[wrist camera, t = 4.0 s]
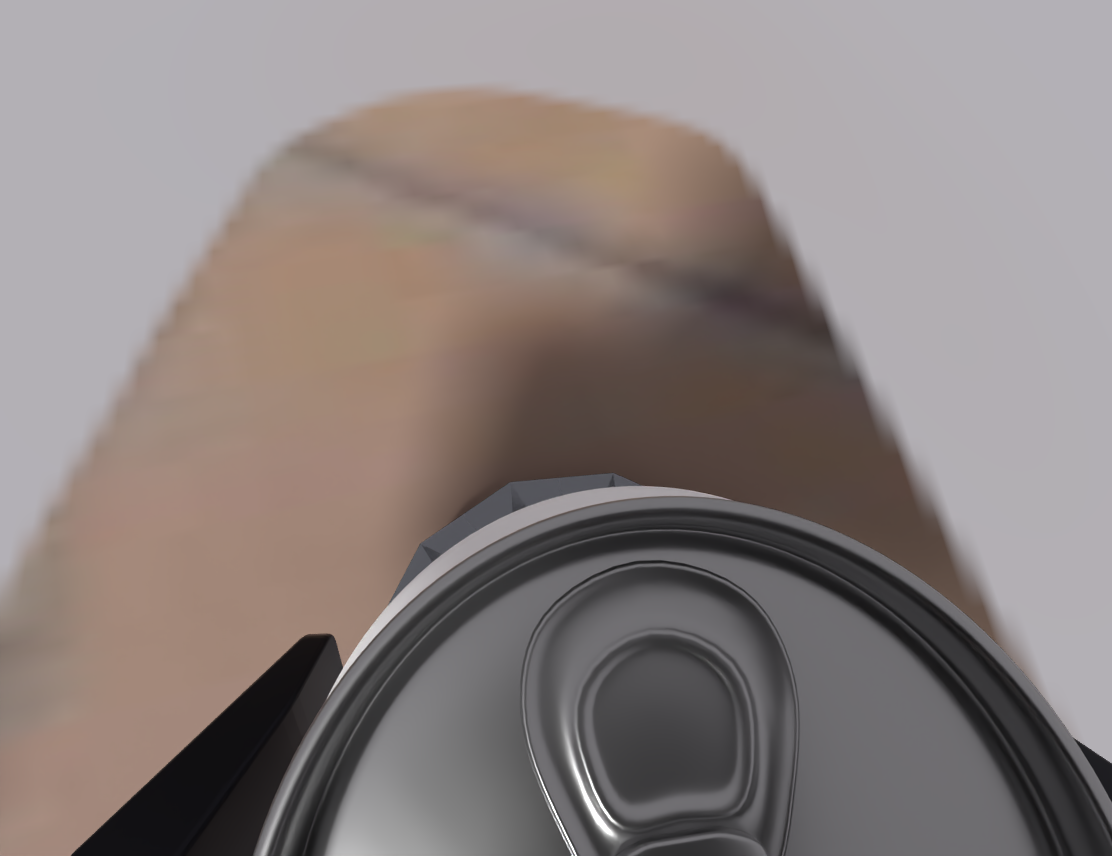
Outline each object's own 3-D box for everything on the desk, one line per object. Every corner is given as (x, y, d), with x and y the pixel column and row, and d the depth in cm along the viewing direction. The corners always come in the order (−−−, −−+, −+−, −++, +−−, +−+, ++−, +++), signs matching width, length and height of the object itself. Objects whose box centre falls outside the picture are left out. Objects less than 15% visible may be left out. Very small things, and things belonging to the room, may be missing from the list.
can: (674, 543, 16) (1023, 393, 4) (723, 800, 14) (1596, 1777, 2) (450, 572, 15) (177, 491, 4) (468, 840, 13) (35, 2222, 2)
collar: (816, 890, 13) (849, 926, 12) (382, 948, 13) (361, 992, 11) (733, 472, 16) (751, 460, 15) (382, 504, 16) (365, 495, 14)
